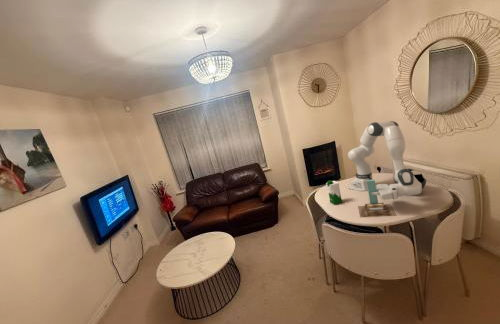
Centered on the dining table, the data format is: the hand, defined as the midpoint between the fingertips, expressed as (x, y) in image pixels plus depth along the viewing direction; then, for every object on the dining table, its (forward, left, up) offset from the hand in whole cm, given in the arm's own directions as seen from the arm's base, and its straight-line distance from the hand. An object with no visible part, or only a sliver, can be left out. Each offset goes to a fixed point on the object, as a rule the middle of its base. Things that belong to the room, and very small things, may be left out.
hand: (371, 192), depth 158 cm
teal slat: (+1, 0, -11) cm, 11 cm away
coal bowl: (+12, +38, -14) cm, 42 cm away
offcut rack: (+2, -2, -14) cm, 15 cm away
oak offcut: (+3, -3, -13) cm, 14 cm away
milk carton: (-32, +3, -14) cm, 35 cm away
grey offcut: (+5, -6, -13) cm, 15 cm away
